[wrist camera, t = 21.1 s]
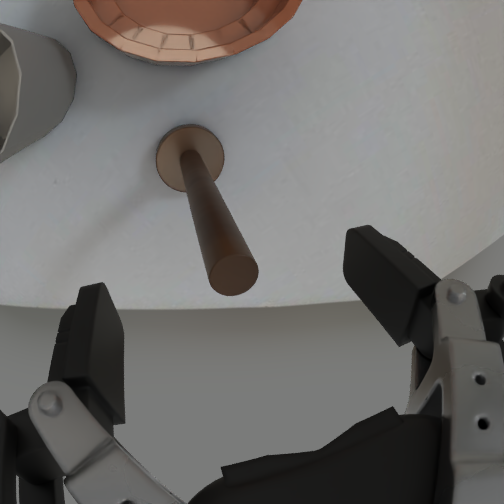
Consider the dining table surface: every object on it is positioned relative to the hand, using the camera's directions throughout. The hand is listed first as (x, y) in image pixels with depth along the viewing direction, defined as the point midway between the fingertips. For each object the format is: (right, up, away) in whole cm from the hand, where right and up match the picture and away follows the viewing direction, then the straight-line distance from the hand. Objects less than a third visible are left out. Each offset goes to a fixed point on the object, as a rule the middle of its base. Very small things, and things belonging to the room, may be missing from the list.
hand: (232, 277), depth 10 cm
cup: (-16, +13, +7) cm, 22 cm away
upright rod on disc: (-4, +8, +13) cm, 16 cm away
